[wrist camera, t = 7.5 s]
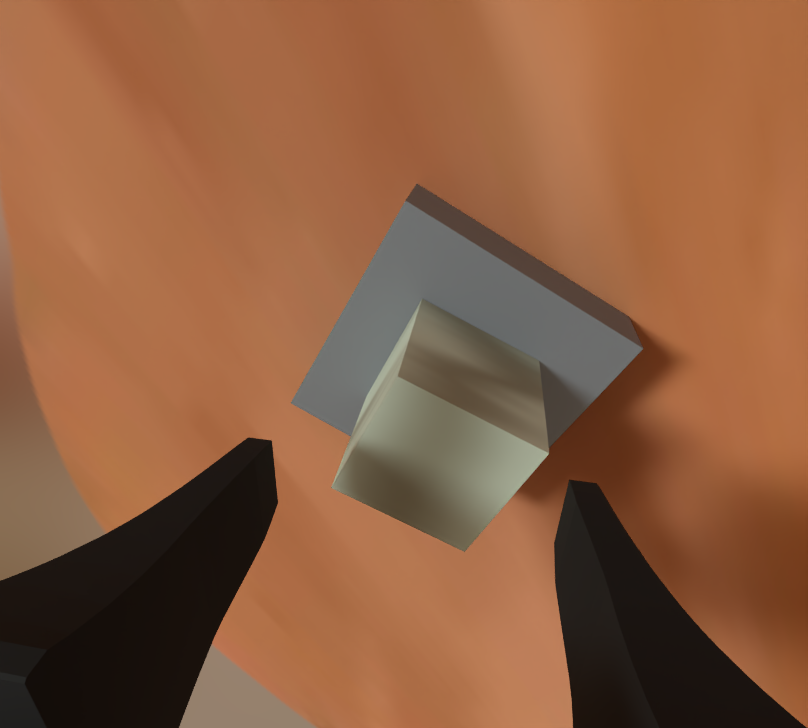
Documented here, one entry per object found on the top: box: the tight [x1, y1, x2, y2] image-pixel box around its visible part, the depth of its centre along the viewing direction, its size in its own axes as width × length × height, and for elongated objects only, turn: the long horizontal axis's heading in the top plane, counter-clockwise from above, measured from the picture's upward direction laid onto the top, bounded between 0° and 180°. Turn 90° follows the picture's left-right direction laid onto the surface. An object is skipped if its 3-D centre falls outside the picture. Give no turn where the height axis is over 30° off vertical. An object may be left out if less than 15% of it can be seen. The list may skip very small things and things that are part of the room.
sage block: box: [331, 299, 549, 552], centre depth 18 cm, size 4×4×5 cm
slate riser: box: [291, 184, 643, 447], centre depth 21 cm, size 9×9×3 cm
